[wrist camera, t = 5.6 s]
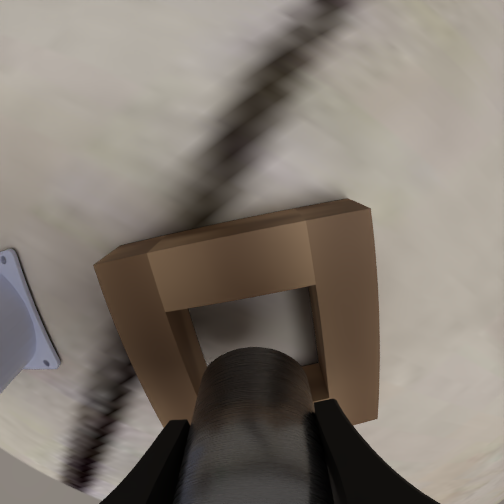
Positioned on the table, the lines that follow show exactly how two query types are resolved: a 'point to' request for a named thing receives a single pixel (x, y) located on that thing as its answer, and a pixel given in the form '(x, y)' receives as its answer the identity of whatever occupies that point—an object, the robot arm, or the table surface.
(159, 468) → the robot arm
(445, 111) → the table surface
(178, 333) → the square wooden ring
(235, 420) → the round peg
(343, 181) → the table surface
